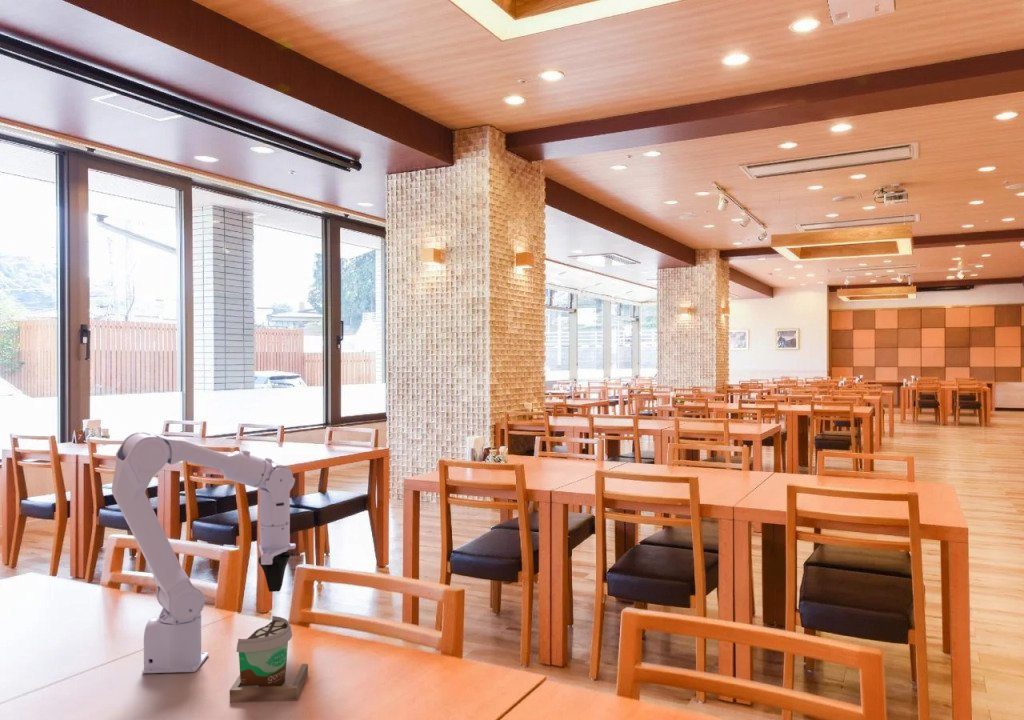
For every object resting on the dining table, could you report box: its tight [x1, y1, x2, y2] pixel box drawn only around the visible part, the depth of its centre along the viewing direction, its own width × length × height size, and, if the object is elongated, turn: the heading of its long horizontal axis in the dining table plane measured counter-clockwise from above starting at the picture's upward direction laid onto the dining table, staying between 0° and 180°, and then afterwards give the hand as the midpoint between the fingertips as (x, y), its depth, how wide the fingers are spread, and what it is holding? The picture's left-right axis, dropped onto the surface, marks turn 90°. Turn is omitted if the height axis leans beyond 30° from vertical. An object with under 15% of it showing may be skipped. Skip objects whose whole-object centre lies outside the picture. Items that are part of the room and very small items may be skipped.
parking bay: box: [229, 663, 309, 703], centre depth 132 cm, size 11×10×2 cm
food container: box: [235, 615, 293, 687], centre depth 134 cm, size 12×6×10 cm, turn 168°
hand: (274, 590), depth 153 cm, fingers closed
